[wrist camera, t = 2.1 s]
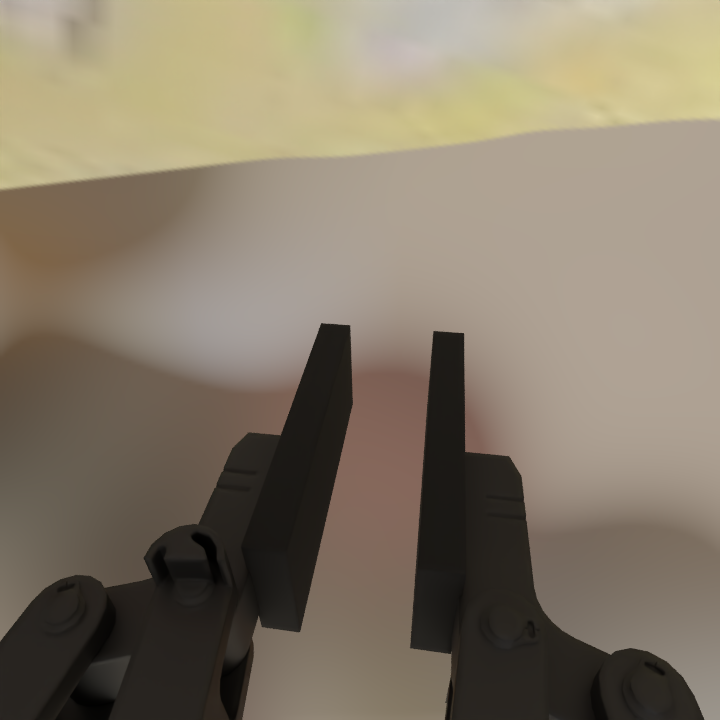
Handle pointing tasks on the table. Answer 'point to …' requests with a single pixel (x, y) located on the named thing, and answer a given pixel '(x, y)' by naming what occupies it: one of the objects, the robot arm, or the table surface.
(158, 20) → the table surface
